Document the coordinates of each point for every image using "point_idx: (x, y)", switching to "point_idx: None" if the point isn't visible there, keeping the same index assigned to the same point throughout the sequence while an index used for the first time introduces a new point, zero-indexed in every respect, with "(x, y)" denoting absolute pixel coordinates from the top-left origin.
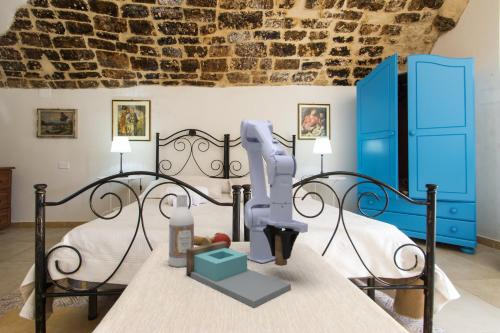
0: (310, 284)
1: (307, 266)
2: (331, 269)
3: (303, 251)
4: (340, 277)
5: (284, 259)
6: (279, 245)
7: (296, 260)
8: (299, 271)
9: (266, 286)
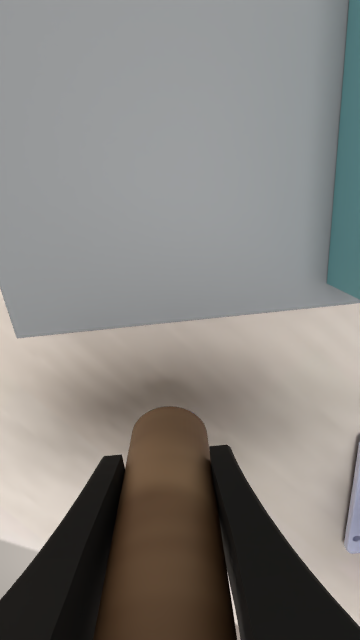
0: (31, 426)
1: None
2: None
3: None
4: (26, 543)
5: (110, 456)
6: (130, 550)
7: None
8: None
9: (58, 206)
